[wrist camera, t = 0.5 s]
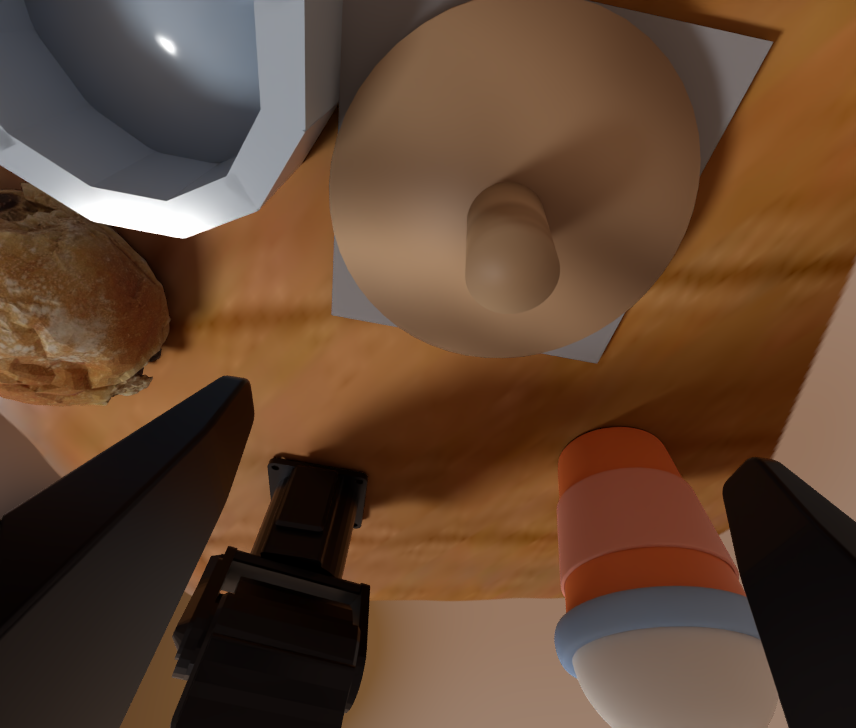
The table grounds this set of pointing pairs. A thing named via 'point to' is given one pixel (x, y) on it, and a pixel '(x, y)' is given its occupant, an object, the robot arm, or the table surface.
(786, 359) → the table surface
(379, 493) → the table surface
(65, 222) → the bread roll
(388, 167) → the lid
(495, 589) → the table surface
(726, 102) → the mat
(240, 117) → the bowl
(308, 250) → the table surface
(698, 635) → the cup with straw
